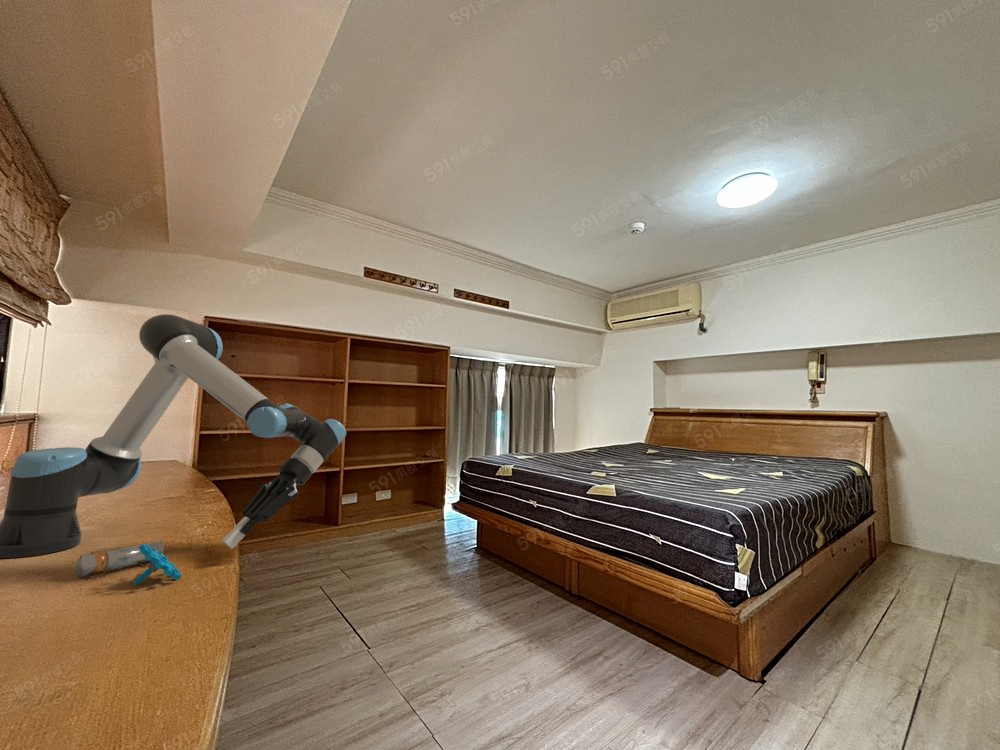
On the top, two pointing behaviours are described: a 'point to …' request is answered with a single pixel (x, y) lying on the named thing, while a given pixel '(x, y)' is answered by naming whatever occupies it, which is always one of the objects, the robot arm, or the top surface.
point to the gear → (156, 564)
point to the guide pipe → (113, 560)
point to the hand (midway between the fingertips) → (227, 544)
